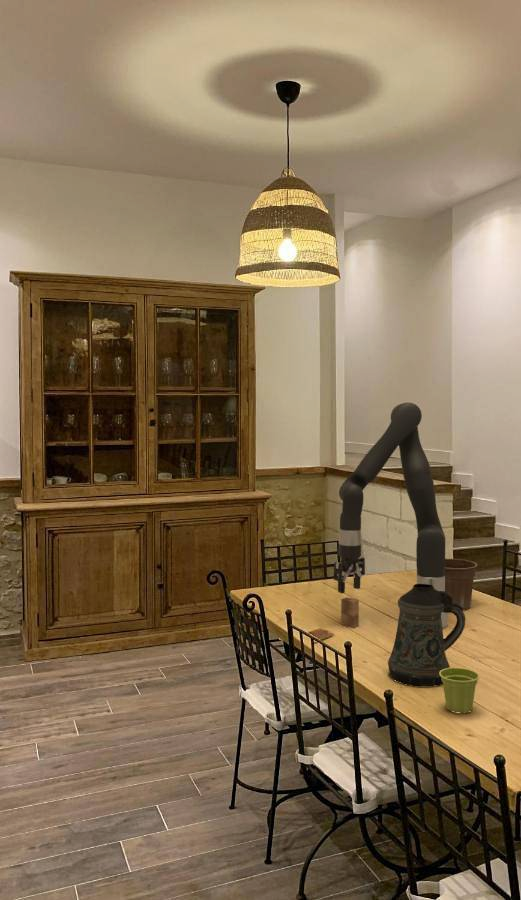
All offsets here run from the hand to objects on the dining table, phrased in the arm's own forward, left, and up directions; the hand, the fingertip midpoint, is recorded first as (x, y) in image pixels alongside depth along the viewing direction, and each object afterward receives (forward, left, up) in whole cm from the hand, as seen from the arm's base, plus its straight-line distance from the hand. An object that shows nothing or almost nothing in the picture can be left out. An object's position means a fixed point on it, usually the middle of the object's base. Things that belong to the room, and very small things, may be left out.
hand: (349, 590), depth 246 cm
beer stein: (-42, +24, -12) cm, 50 cm away
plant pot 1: (-14, -45, -12) cm, 49 cm away
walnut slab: (0, 0, -12) cm, 12 cm away
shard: (-1, +16, -13) cm, 20 cm away
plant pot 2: (-60, +38, -12) cm, 72 cm away
